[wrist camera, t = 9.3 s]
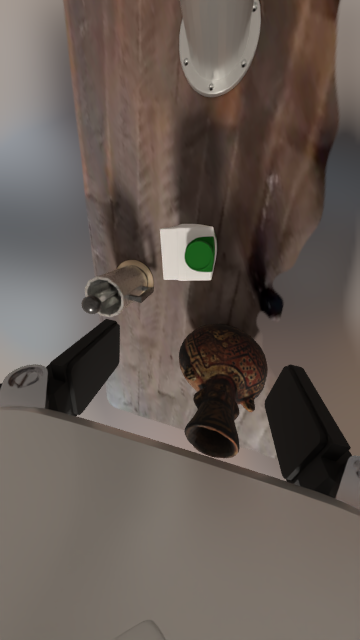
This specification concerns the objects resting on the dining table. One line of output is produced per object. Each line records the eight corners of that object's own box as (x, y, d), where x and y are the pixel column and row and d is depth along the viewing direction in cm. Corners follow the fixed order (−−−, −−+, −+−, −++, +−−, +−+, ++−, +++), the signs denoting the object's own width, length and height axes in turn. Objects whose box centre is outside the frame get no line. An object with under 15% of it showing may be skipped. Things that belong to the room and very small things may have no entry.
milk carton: (216, 265, 45) (214, 287, 27) (180, 265, 46) (155, 286, 29) (218, 225, 41) (217, 220, 23) (179, 227, 43) (149, 223, 25)
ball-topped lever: (113, 271, 45) (67, 288, 31) (137, 275, 44) (100, 294, 31) (114, 295, 47) (72, 320, 34) (137, 299, 47) (103, 326, 33)
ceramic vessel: (272, 331, 49) (334, 449, 22) (239, 375, 57) (255, 499, 31) (201, 299, 49) (178, 379, 23) (177, 347, 57) (141, 447, 31)
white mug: (119, 262, 49) (83, 273, 36) (159, 269, 47) (136, 283, 35) (119, 292, 53) (87, 312, 40) (157, 300, 51) (136, 322, 38)
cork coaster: (115, 256, 49) (114, 257, 48) (154, 263, 47) (154, 263, 47) (116, 295, 54) (115, 296, 53) (152, 302, 52) (151, 303, 52)
